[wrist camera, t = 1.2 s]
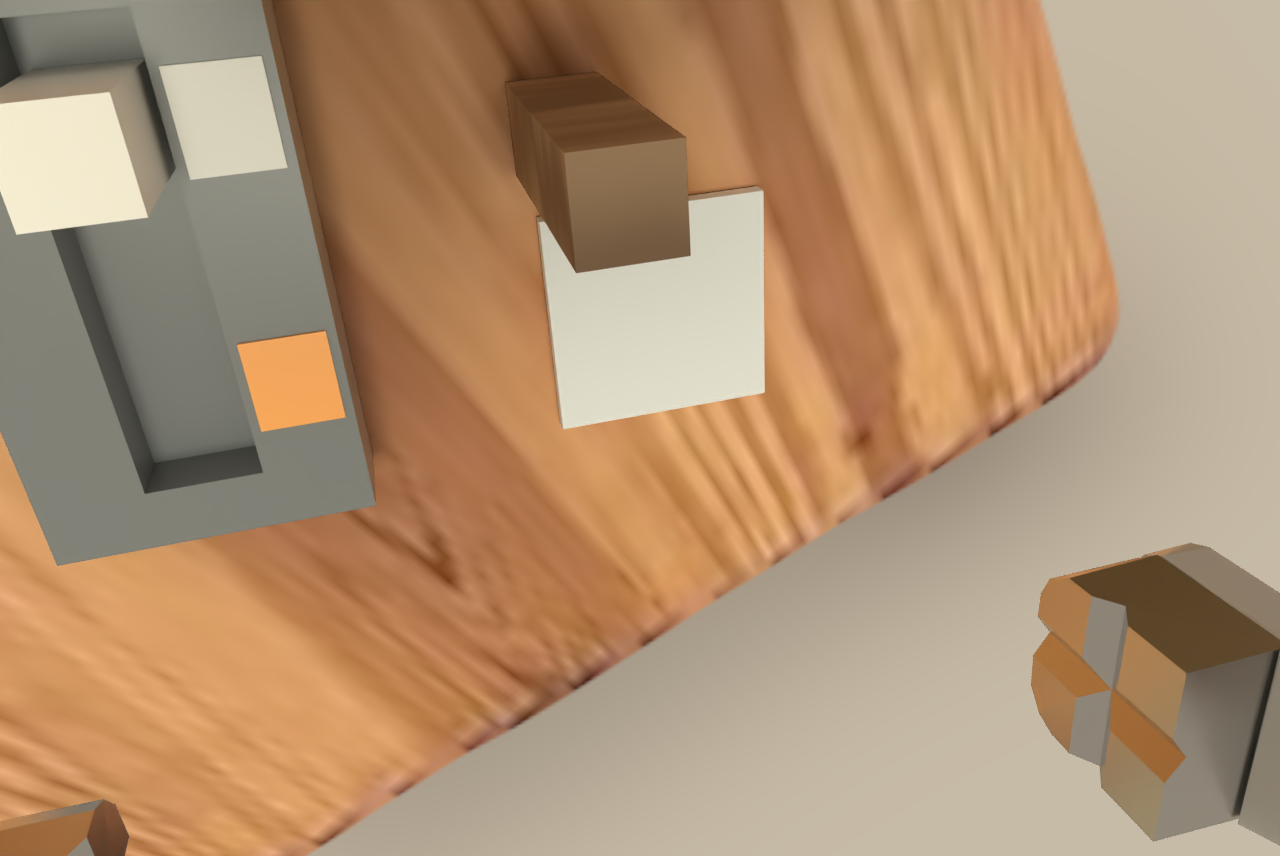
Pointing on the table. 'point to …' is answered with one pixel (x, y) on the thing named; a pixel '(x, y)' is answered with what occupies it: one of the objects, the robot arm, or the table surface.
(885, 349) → the table surface
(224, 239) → the switch panel
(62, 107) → the switch tab
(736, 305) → the pad
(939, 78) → the table surface
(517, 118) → the brown wooden beam
